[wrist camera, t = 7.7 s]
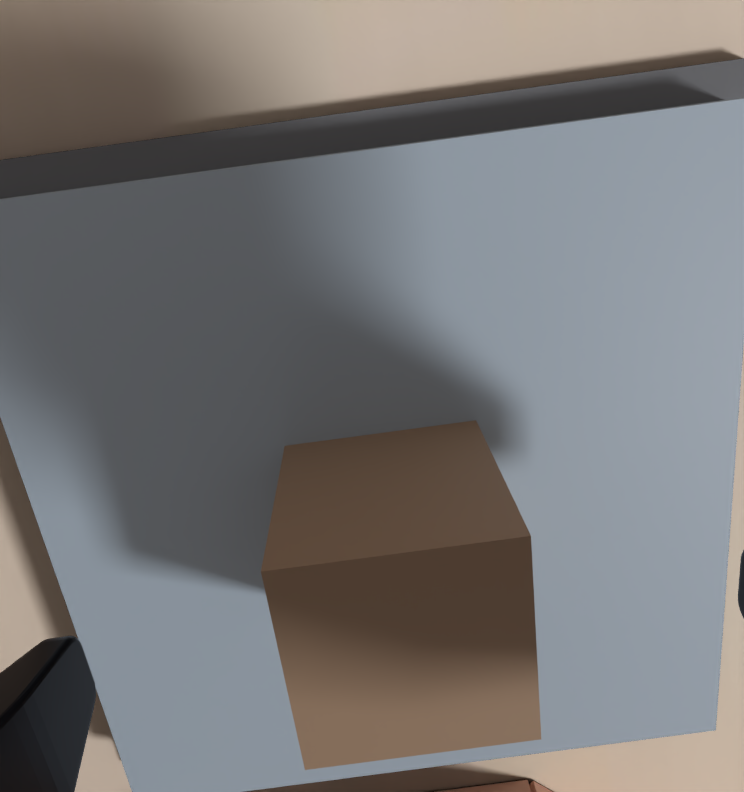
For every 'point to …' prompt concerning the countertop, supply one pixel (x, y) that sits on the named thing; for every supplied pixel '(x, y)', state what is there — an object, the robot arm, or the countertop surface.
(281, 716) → the lid
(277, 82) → the countertop surface
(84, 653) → the robot arm
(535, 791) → the dish
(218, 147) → the mat
